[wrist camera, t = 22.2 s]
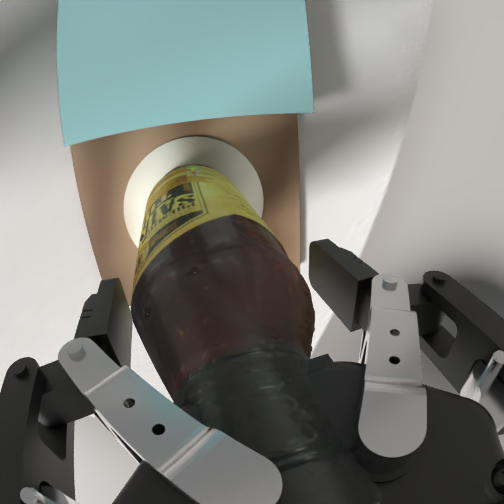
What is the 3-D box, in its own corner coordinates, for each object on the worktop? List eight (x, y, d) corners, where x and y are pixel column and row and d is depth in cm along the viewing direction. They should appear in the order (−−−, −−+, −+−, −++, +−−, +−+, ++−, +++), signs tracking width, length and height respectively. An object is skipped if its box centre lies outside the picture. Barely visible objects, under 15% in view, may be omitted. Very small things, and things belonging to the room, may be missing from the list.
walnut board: (113, 301, 23) (111, 310, 22) (69, -12, 12) (64, -18, 11) (295, 266, 27) (301, 273, 26) (278, -32, 15) (285, -38, 14)
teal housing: (87, 140, 16) (64, 146, 12) (83, -27, 11) (67, -58, 6) (280, 113, 19) (313, 112, 15) (267, -43, 13) (293, -73, 9)
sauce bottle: (168, 147, 18) (246, 506, 1) (250, 182, 21) (505, 413, 4) (132, 234, 20) (118, 570, 3) (211, 261, 23) (329, 543, 6)
